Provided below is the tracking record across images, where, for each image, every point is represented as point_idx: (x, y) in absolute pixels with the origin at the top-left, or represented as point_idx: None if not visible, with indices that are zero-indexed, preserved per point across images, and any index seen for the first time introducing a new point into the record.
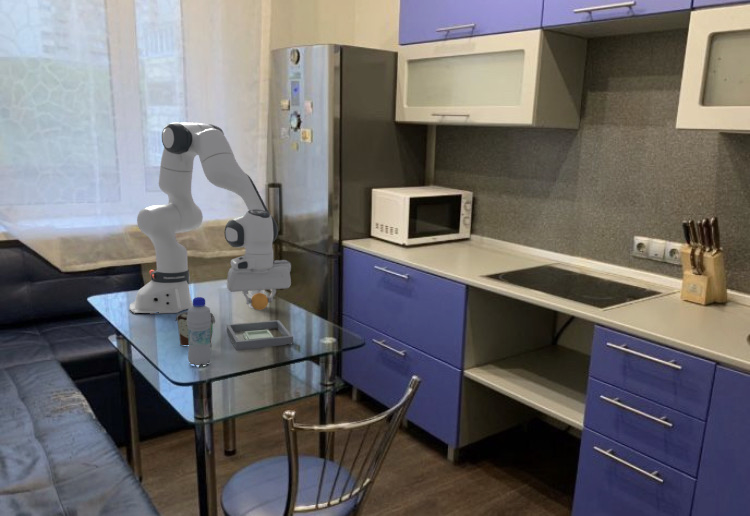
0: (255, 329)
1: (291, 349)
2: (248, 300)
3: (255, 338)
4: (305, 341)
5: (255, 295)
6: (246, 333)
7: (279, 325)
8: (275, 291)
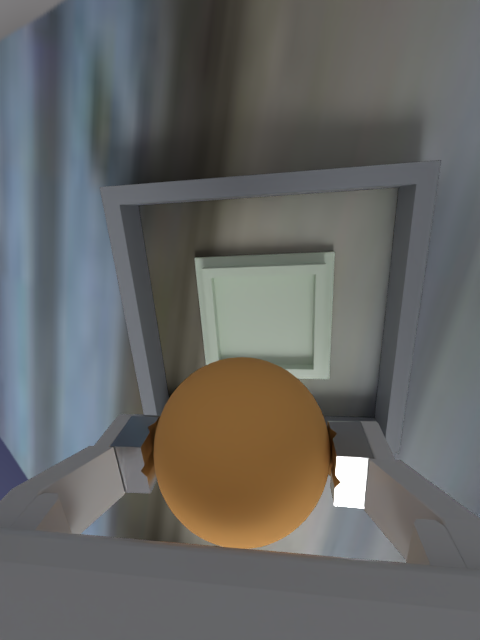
0: None
1: (134, 105)
2: (371, 445)
3: (293, 268)
4: (62, 215)
5: (287, 491)
6: (320, 350)
7: (155, 388)
8: (12, 497)
